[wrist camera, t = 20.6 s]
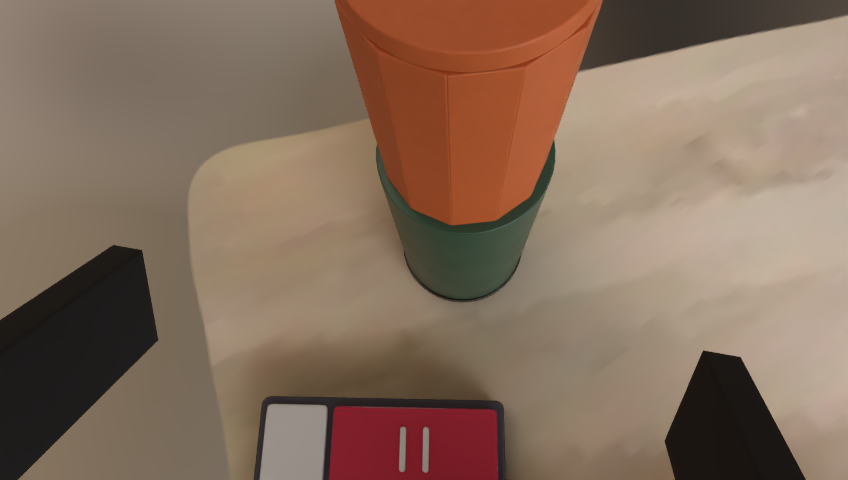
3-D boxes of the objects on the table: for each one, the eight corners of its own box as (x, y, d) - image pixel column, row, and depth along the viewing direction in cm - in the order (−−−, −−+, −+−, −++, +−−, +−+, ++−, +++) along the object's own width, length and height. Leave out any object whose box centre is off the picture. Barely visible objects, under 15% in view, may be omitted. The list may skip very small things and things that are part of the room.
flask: (538, 216, 40) (600, 68, 23) (493, 321, 37) (524, 246, 20) (433, 174, 41) (416, 5, 24) (384, 273, 39) (327, 165, 22)
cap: (567, 112, 25) (656, -133, 14) (507, 249, 23) (555, 95, 12) (425, 62, 27) (401, -200, 15) (358, 187, 25) (274, -4, 13)
